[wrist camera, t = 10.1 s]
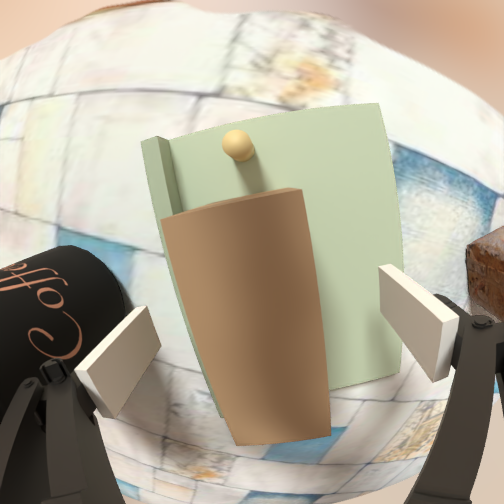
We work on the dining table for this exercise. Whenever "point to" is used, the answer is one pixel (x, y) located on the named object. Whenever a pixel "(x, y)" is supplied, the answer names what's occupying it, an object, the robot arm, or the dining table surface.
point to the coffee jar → (53, 314)
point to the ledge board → (317, 208)
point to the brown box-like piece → (255, 313)
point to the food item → (487, 272)
